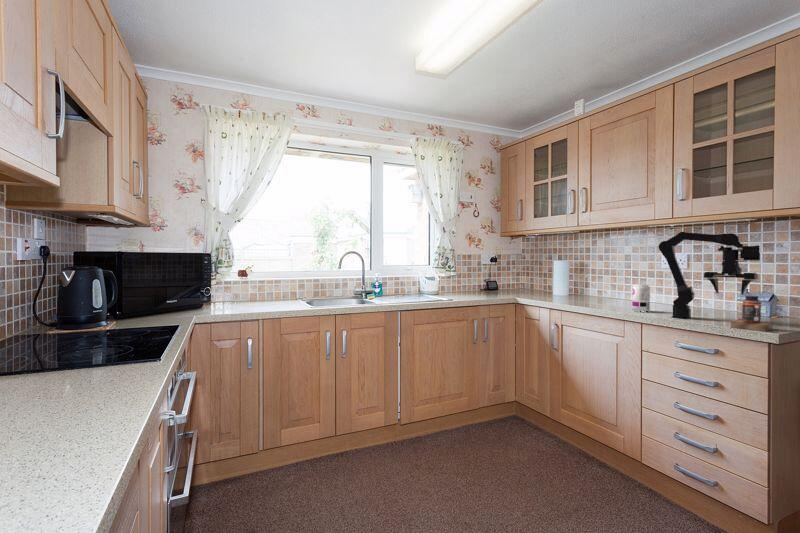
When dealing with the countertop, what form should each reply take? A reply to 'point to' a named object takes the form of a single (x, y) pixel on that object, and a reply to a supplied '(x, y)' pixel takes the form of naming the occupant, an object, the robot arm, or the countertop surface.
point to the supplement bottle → (751, 309)
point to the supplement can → (641, 297)
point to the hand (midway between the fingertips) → (729, 294)
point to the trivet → (751, 325)
